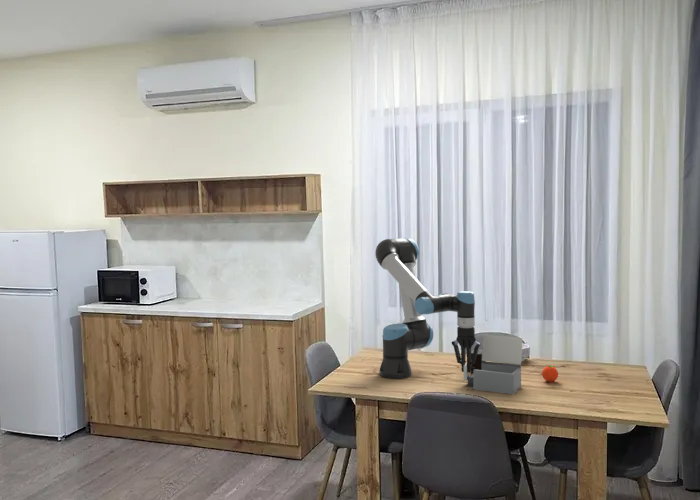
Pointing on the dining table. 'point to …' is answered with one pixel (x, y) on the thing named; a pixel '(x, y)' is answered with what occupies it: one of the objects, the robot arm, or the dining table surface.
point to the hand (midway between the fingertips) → (466, 379)
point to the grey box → (497, 377)
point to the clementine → (550, 373)
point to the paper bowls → (525, 351)
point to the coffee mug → (477, 361)
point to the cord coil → (470, 381)
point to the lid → (502, 349)
